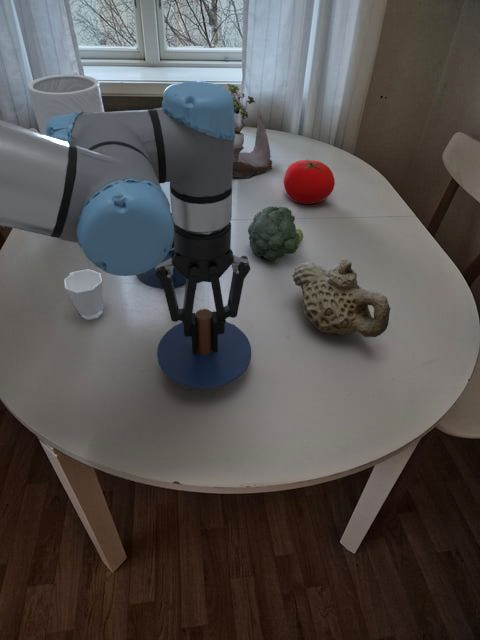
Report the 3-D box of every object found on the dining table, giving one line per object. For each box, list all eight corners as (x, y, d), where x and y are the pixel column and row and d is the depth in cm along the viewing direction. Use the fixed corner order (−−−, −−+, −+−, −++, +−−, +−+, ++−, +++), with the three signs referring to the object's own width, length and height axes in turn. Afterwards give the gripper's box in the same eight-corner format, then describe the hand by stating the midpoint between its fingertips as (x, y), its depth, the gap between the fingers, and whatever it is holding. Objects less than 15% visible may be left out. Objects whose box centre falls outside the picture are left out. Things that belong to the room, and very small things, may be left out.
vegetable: (324, 251, 98) (283, 245, 88) (282, 271, 107) (241, 268, 96) (311, 202, 100) (270, 191, 90) (271, 225, 109) (229, 218, 98)
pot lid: (157, 396, 65) (151, 355, 59) (157, 325, 77) (152, 285, 70) (258, 387, 68) (262, 347, 61) (243, 319, 79) (246, 280, 72)
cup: (84, 330, 81) (74, 297, 75) (59, 303, 86) (48, 271, 80) (117, 313, 84) (109, 281, 79) (91, 289, 89) (83, 257, 84)
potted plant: (196, 163, 141) (210, 78, 129) (248, 172, 149) (265, 92, 137) (214, 179, 125) (231, 84, 114) (271, 187, 133) (293, 99, 121)
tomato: (271, 195, 122) (274, 159, 115) (302, 183, 128) (307, 148, 121) (309, 215, 114) (315, 178, 107) (339, 201, 121) (347, 165, 113)
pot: (133, 299, 87) (126, 261, 81) (136, 244, 102) (130, 208, 95) (204, 294, 89) (203, 256, 83) (198, 241, 104) (196, 205, 97)
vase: (135, 214, 112) (114, 80, 90) (100, 241, 102) (67, 98, 81) (90, 202, 116) (60, 70, 94) (52, 226, 106) (9, 86, 85)
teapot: (272, 309, 87) (279, 246, 76) (311, 286, 92) (323, 225, 82) (356, 373, 75) (377, 309, 65) (395, 343, 81) (420, 280, 70)
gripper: (257, 204, 58) (247, 327, 75) (140, 207, 56) (156, 334, 72) (267, 233, 53) (255, 360, 69) (138, 239, 51) (156, 368, 67)
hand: (204, 346), depth 71 cm, fingers closed on pot lid, 3 cm apart
